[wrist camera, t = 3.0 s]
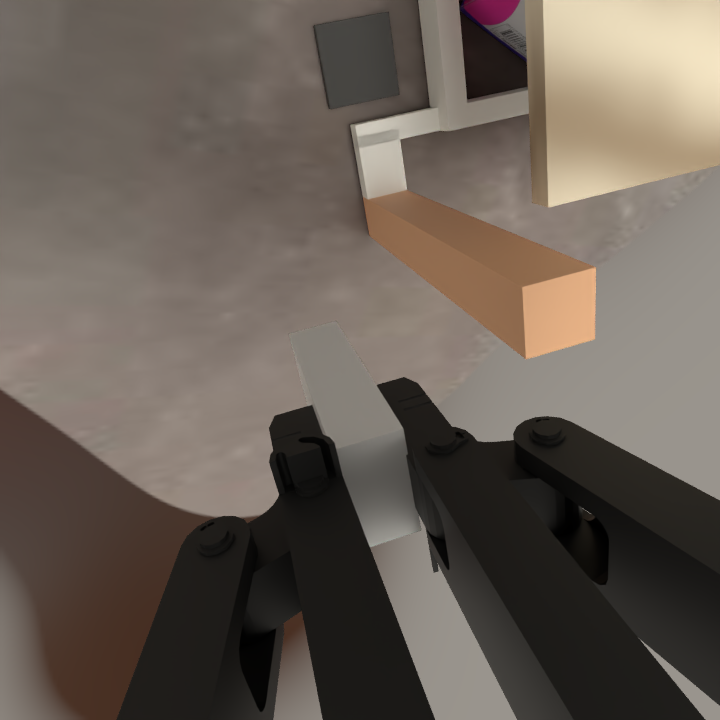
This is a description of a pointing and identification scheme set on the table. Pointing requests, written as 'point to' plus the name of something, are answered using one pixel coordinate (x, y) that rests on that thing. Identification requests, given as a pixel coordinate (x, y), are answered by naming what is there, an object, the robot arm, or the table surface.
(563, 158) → the small wooden stool
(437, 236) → the sled
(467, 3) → the supplement box
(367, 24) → the plate
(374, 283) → the table surface
